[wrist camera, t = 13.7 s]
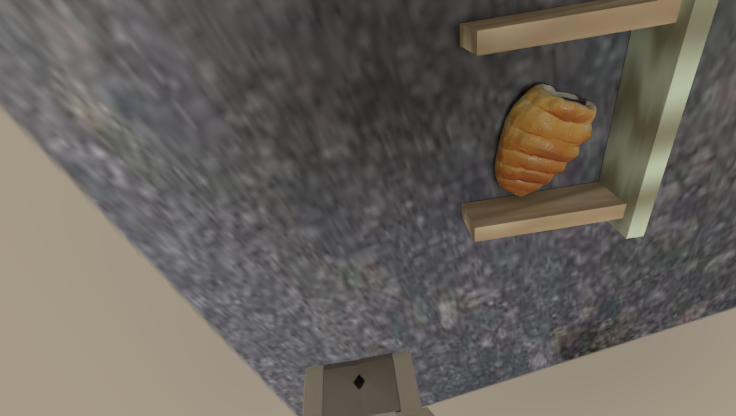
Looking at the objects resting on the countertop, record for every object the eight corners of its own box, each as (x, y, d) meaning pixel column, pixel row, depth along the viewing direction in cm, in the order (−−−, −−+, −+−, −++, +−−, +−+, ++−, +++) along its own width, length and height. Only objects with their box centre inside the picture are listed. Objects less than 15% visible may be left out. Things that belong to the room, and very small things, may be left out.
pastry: (537, 192, 36) (557, 214, 32) (472, 178, 34) (486, 199, 31) (592, 96, 31) (622, 110, 28) (520, 75, 30) (542, 87, 26)
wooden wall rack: (459, 0, 26) (483, 5, 22) (666, -35, 26) (730, -37, 22) (461, 229, 37) (477, 262, 33) (608, 205, 37) (643, 236, 32)
